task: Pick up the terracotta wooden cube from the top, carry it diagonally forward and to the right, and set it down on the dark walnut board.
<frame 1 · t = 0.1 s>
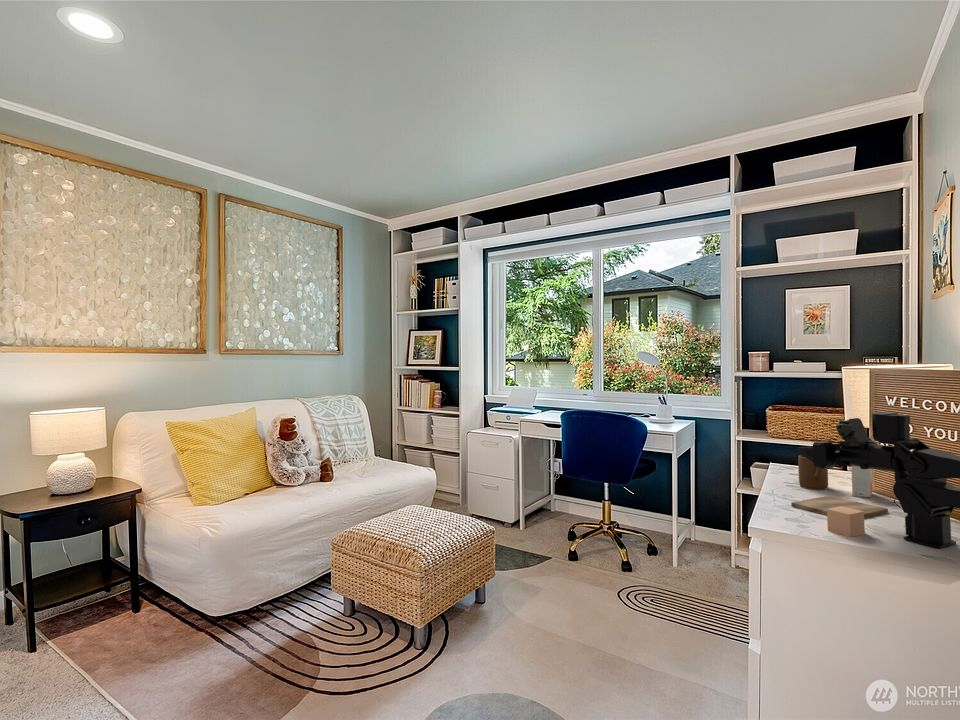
hand: (809, 448, 132), 17 cm above the table, tool horizontal, fingers open, 9 cm apart
mug: (815, 489, 155), on the table
skincare box: (862, 495, 147), on the table
walnut board: (838, 509, 134), on the table
terracotta cube: (846, 532, 116), on the table
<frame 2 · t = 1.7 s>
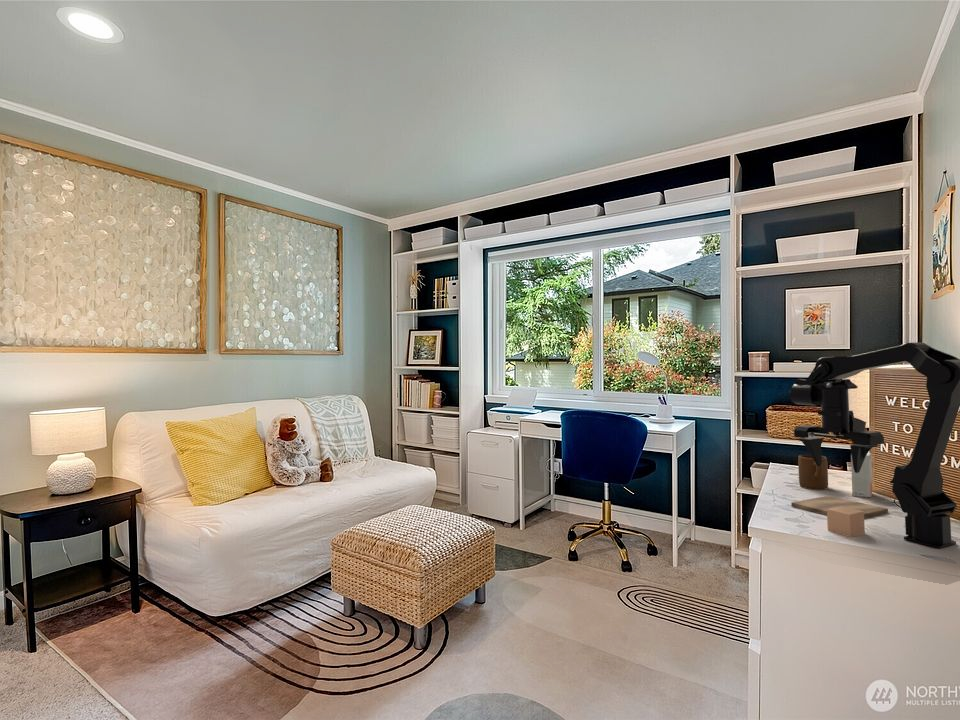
hand: (837, 469, 127), 12 cm above the table, tool pointing down, fingers open, 9 cm apart
nothing on the table moved.
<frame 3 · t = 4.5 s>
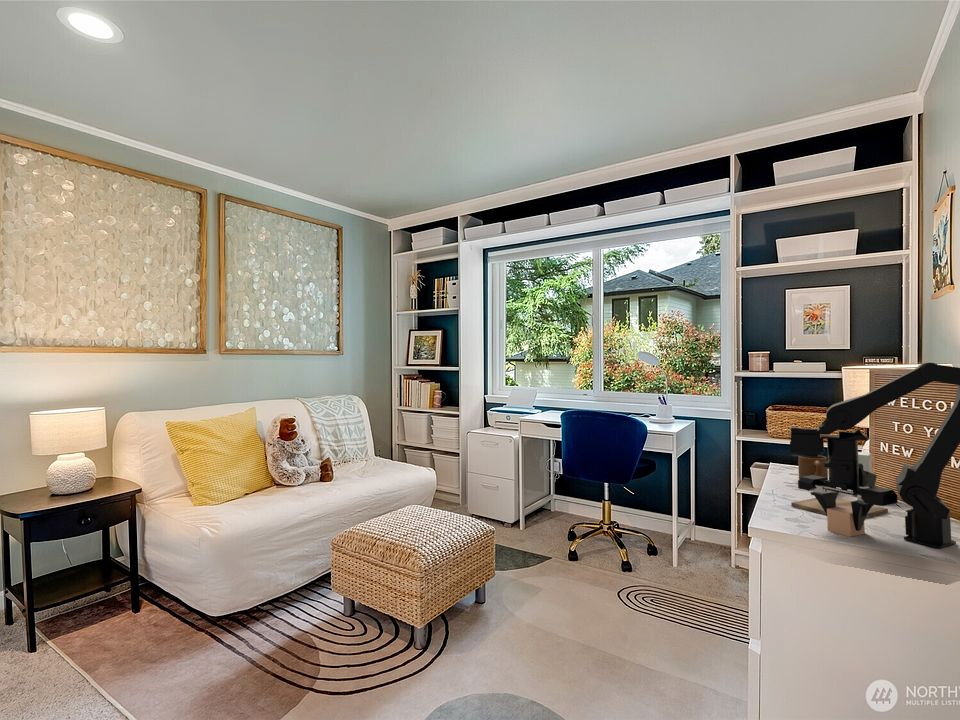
hand: (845, 527, 116), 1 cm above the table, tool pointing down, fingers closed on terracotta cube, 5 cm apart
terracotta cube: (846, 531, 116), on the table, touching gripper
everything else where it was.
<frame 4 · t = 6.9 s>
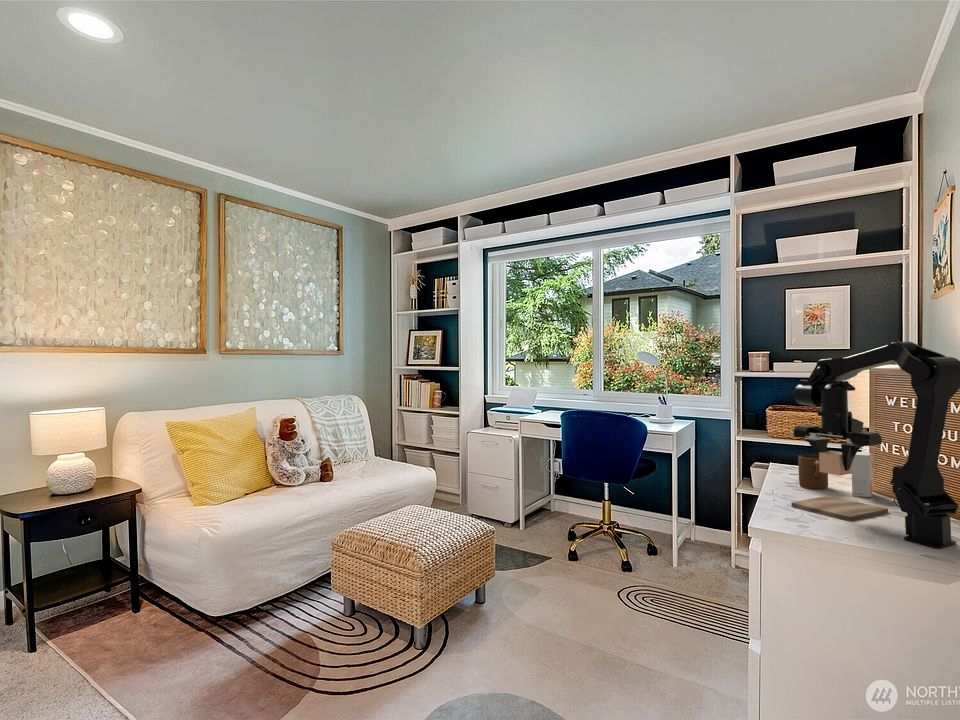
hand: (835, 468, 131), 11 cm above the table, tool pointing down, fingers closed on terracotta cube, 5 cm apart
terracotta cube: (835, 472, 130), point 10 cm above the table, touching gripper
everything else where it was.
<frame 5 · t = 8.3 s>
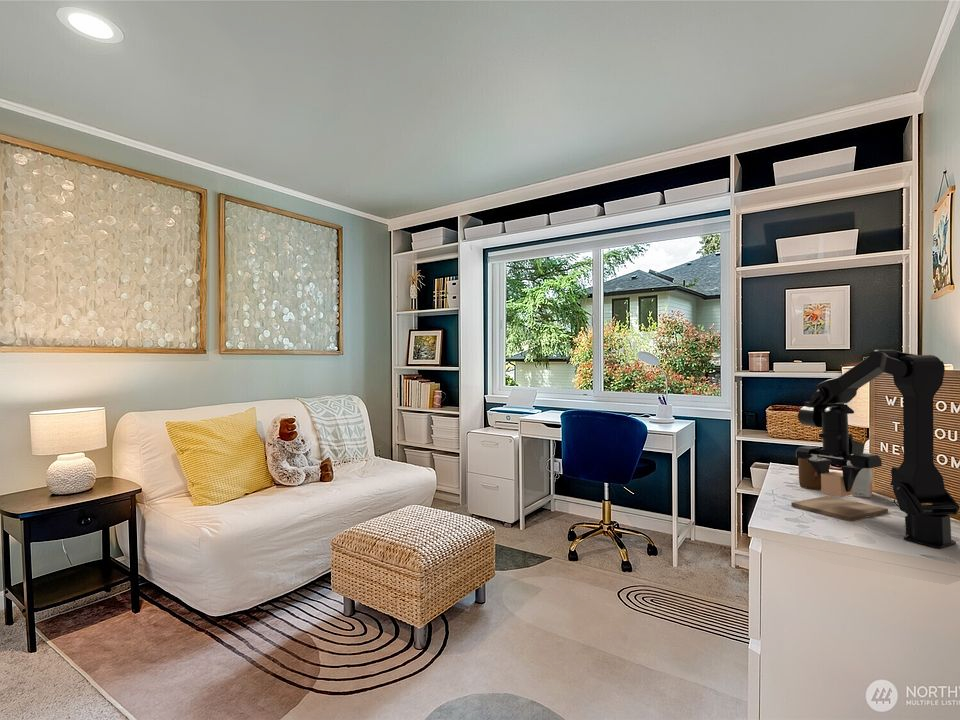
hand: (837, 489, 134), 5 cm above the table, tool pointing down, fingers closed on terracotta cube, 5 cm apart
terracotta cube: (837, 493, 133), point 4 cm above the table, touching gripper
everything else where it was.
when the fingers open (3 cm above the table, at t = 9.4 s): terracotta cube drops 1 cm, resting on walnut board.
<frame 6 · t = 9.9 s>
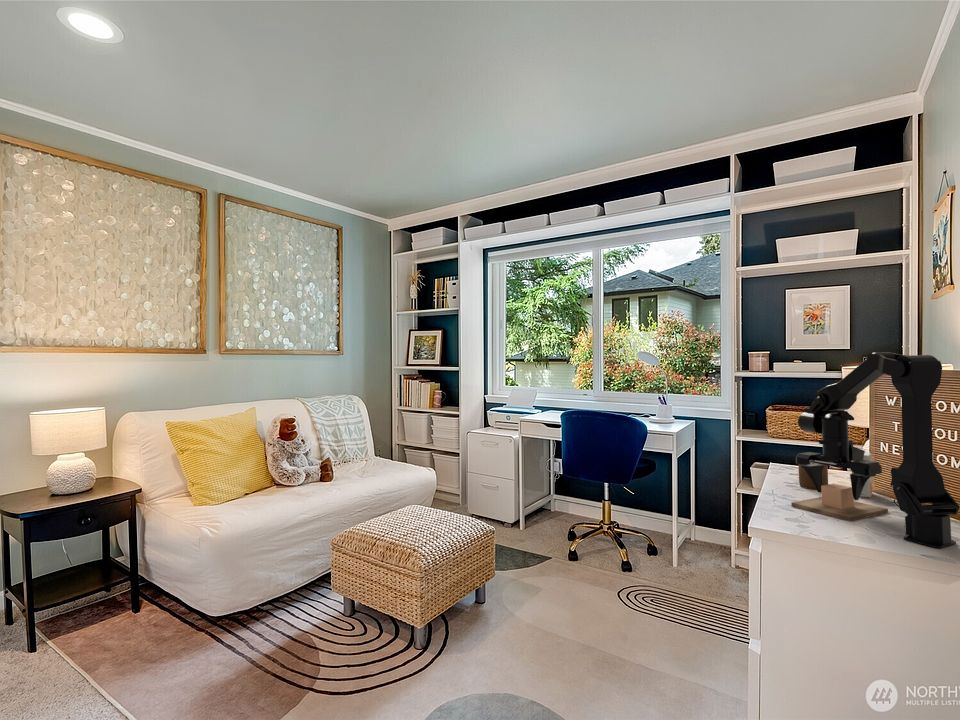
hand: (837, 496, 134), 3 cm above the table, tool pointing down, fingers open, 9 cm apart
terracotta cube: (837, 505, 133), point 1 cm above the table, touching walnut board
everything else where it was.
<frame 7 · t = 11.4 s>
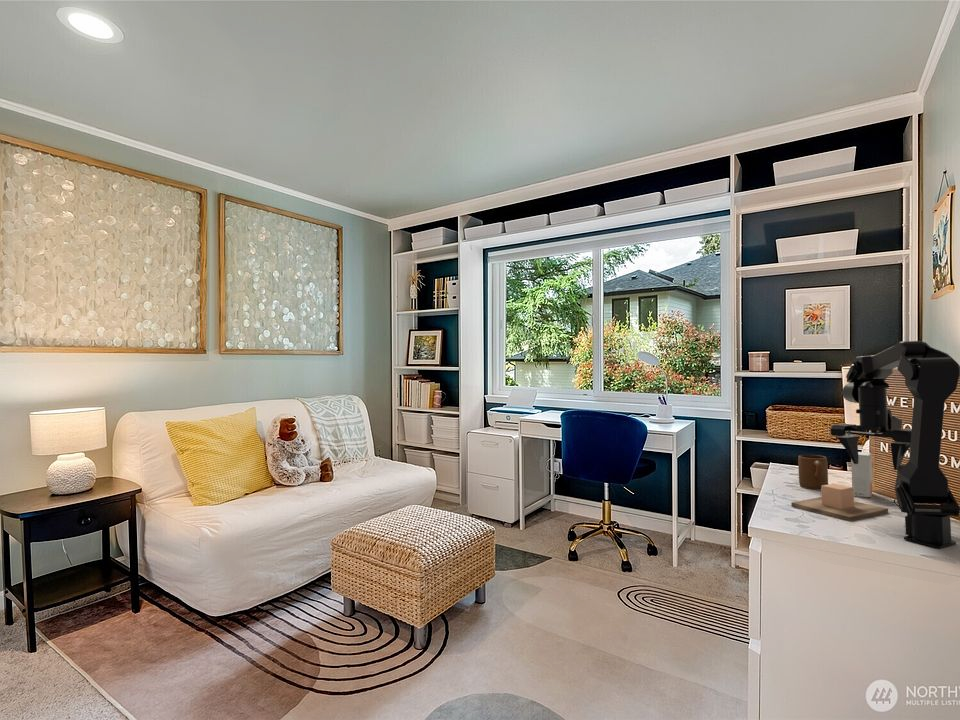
hand: (875, 466, 129), 12 cm above the table, tool pointing down, fingers open, 9 cm apart
nothing on the table moved.
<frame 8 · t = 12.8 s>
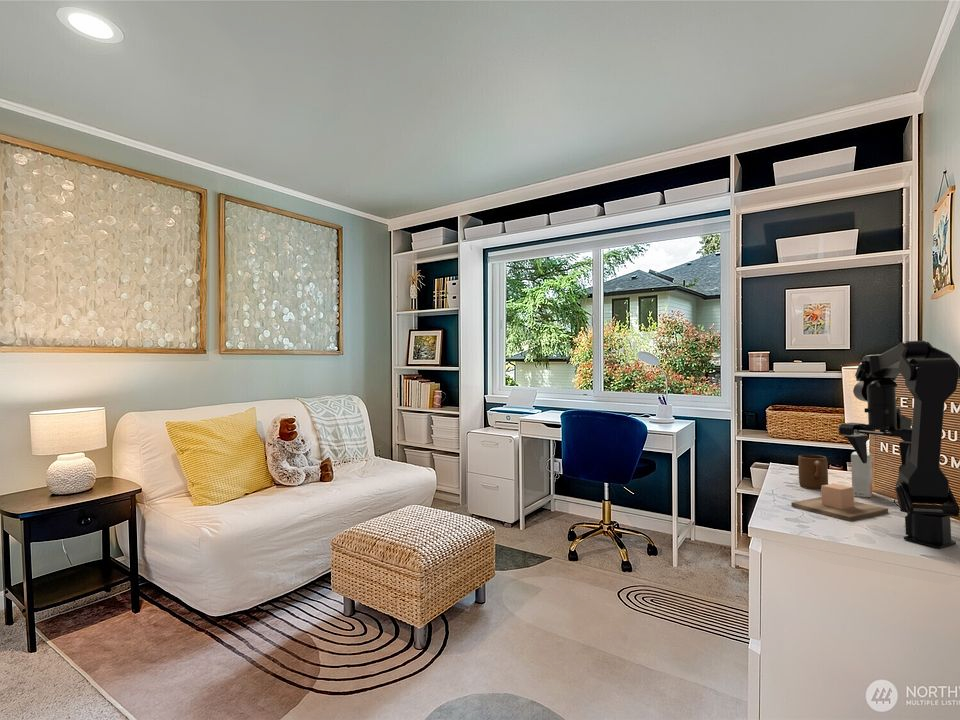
hand: (884, 466, 129), 12 cm above the table, tool pointing down, fingers open, 9 cm apart
nothing on the table moved.
at the end: terracotta cube inside the target area on the walnut board (0.1 cm from its centre), point 1.0 cm above the walnut board's base; terracotta cube tilted 0°; the gripper is holding nothing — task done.
